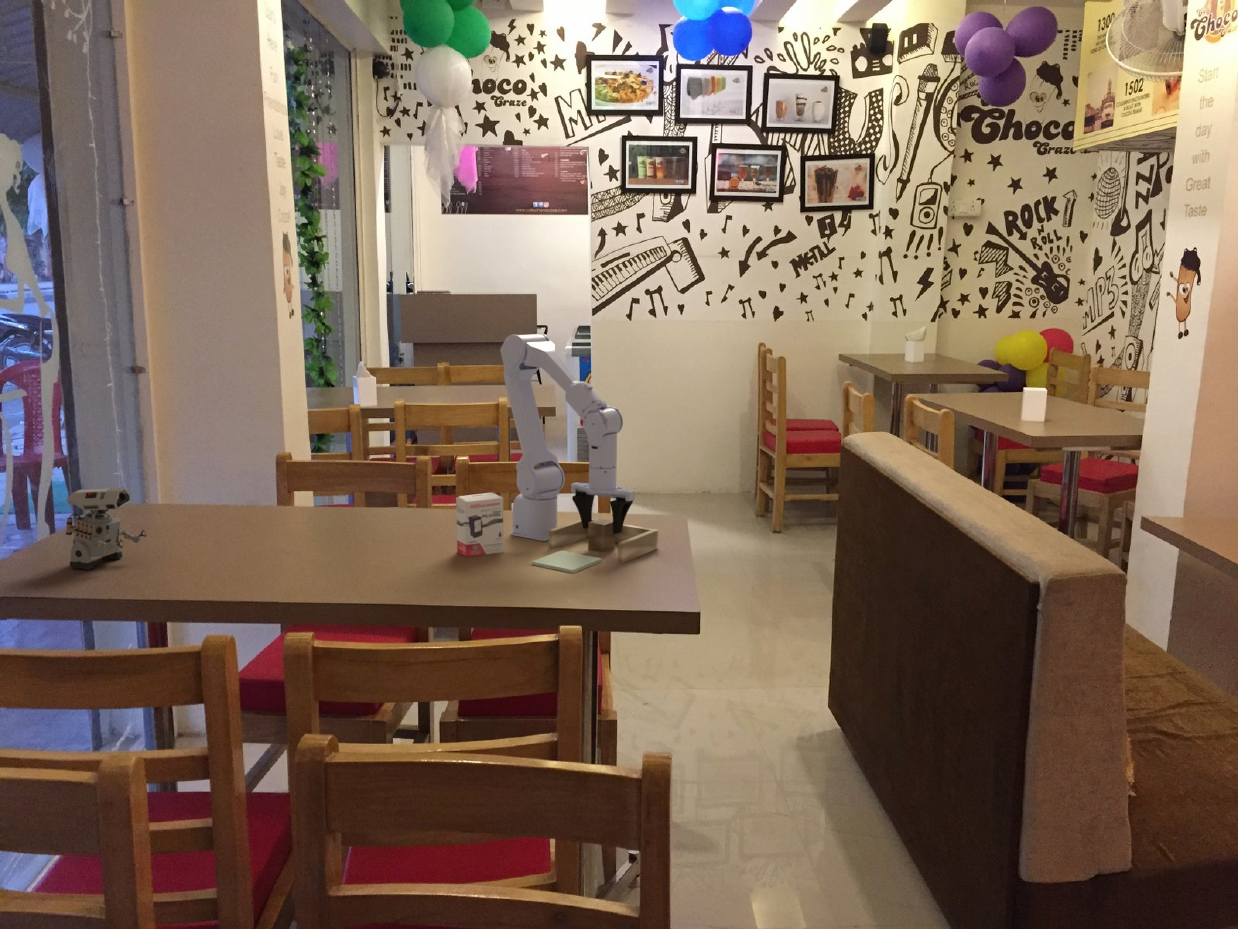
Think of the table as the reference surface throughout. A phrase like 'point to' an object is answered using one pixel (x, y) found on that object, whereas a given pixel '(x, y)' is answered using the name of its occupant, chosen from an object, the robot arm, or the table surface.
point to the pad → (566, 561)
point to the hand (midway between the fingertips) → (602, 530)
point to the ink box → (479, 524)
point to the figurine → (97, 526)
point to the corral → (629, 540)
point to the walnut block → (601, 536)
